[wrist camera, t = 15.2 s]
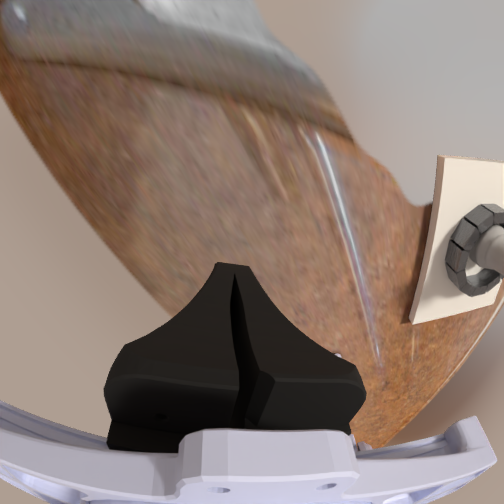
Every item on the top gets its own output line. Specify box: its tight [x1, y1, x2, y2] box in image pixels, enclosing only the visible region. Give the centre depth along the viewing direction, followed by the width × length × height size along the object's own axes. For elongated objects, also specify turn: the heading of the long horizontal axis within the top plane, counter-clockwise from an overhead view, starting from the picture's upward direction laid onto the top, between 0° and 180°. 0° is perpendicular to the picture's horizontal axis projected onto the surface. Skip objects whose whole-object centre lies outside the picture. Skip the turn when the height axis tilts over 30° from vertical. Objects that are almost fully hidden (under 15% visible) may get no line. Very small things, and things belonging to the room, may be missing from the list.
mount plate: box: [409, 155, 504, 324], centre depth 23 cm, size 16×12×1 cm
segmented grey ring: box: [445, 204, 504, 297], centre depth 22 cm, size 8×8×2 cm
